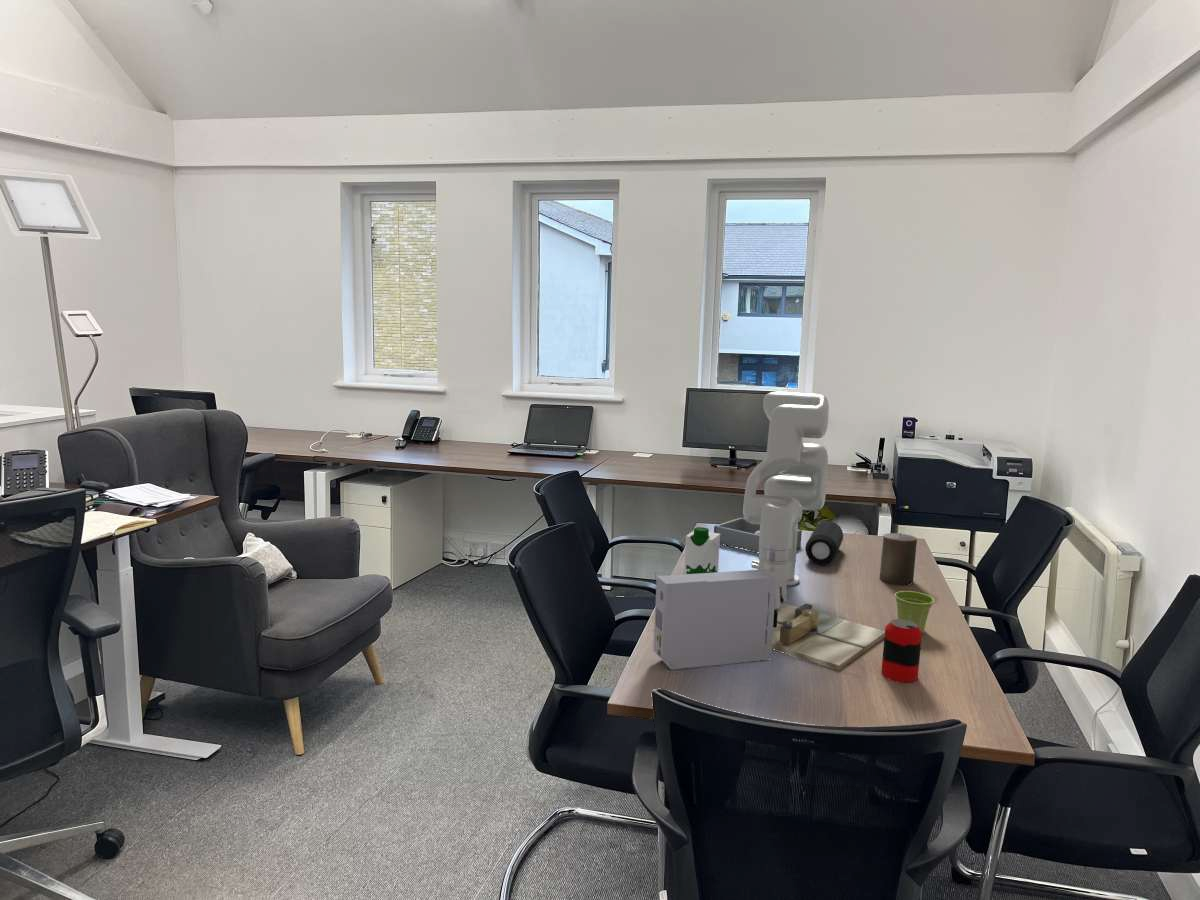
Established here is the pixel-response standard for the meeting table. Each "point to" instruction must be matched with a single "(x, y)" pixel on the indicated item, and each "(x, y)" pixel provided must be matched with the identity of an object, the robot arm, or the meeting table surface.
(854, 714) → the meeting table surface
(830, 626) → the lock board
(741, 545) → the organiser frame
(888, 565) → the pillar candle
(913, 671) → the soda can
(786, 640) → the swing bar
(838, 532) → the portable speaker
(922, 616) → the plant pot
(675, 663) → the game console
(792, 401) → the robot arm
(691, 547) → the milk carton
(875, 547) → the meeting table surface
